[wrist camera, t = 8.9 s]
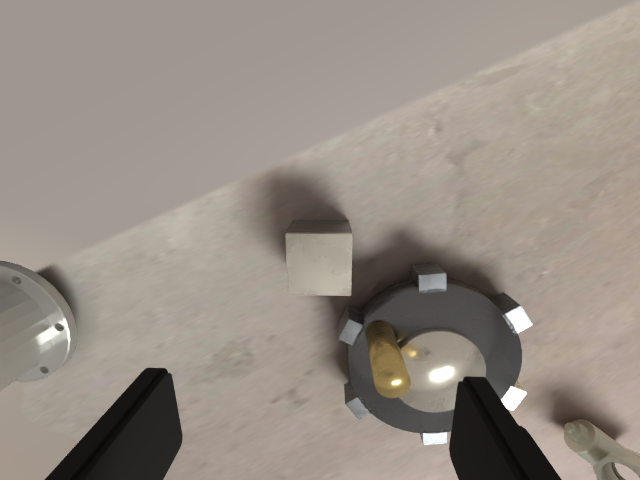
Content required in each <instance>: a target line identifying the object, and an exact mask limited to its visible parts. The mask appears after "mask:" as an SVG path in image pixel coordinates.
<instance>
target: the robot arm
mask: <svg viewBox="0 0 640 480" xmlns="http://www.w3.org/2000/svg"><path fill="white" fill-rule="evenodd" d="M76 343H77V328H76V323H75V319H74V316H73V314H72V312H71V309H70V307H69V306H68V304H67V302H66V301H65V299H64V298H63V296H62V295H61V294H60V293H59V292H58V291H57V290H56V288H55V287H54V286H52V285H51V284H50V283H49V282H48V281H47V280H45V279H44V278H43V277H41V276H40V275H38V274H36V273H35V272H33V271H31V270H29V269H27V268H24V267H22V266H20V265H17V264H13V263H10V262H5V261H0V391H1V390H3V389H4V388H6V387H7V386H8V385H10V384H11V383H13V382H14V381H19V382H28V381H36V380H40V379H44V378H46V377H48V376H50V375H52V374H54V373H55V372H56V371H57V370H59V369H60V368H61V367H63V366H64V365H65V364H66V363H67V362H68V361H69V359H70V358H71V356H72V354H73V353H74V351H75V347H76ZM181 443H182V430H181V425H180V419H179V413H178V408H177V402H176V396H175V390H174V385H173V379H172V375H171V374H170V373H168V371H167V370H166V369H165V368H146V369H145V370H144V371H143V372H142V373H141V374H140V375H139V376H138V377H137V378H136V379H135V381H134V382H133V383H132V384H131V385H130V386H129V387H128V388H127V389H126V391H125V392H124V393H123V394H122V395H121V396H120V397H119V398H118V399H117V400H116V402H115V403H114V404H113V405H112V406H111V407H110V408H109V409H108V410H107V412H106V413H105V414H104V415H103V416H102V417H101V418H100V419H99V420H98V422H97V423H96V424H95V425H94V426H93V427H92V428H91V429H90V430H89V431H88V433H87V434H86V435H85V436H84V437H83V438H82V439H81V440H80V441H79V443H78V444H77V445H76V446H75V447H74V448H73V449H72V450H71V451H70V452H69V454H68V455H67V456H66V457H65V458H64V459H63V460H62V461H61V462H60V464H59V465H58V466H57V467H56V468H55V469H54V470H53V471H52V473H50V475H49V476H48V477H47V478H46V479H45V480H163V479H164V477H165V475H166V473H167V471H168V469H169V468H170V466H171V464H172V462H173V460H174V458H175V456H176V455H177V453H178V451H179V449H180V446H181ZM449 451H450V457H451V460H452V463H453V466H454V468H455V471H456V474H457V476H458V479H459V480H561V478H560V477H559V476H558V474H557V473H556V471H555V470H554V468H553V467H552V465H551V464H550V463H549V461H548V460H547V458H546V457H545V455H544V454H543V453H542V451H541V450H540V448H539V447H538V445H537V444H536V443H535V441H534V440H533V438H532V437H531V435H530V434H529V433H528V432H527V430H526V429H525V428H523V427H522V426H518V424H517V423H516V421H515V420H514V418H513V417H512V415H511V414H510V412H509V411H508V409H507V408H506V407H505V405H504V404H503V402H502V401H501V399H500V398H499V396H498V395H497V393H496V392H495V390H494V389H493V387H492V386H491V384H490V383H489V381H488V380H487V379H486V378H485V377H472V376H466V377H464V378H463V381H459V382H458V385H457V393H456V400H455V408H454V415H453V423H452V430H451V437H450V445H449Z"/></svg>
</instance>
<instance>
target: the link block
mask: <svg viewBox="0 0 640 480" xmlns="http://www.w3.org/2000/svg"><path fill="white" fill-rule="evenodd" d="M352 237H353V234H352V230H351V227H350V223H349V221H303V220H293V222H292V224H291V225H290V227H289V229H288V230H287V232H286V234H285V238H286V264H287V291H288V295H318V296H351V278H352Z"/></svg>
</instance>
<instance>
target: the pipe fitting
mask: <svg viewBox="0 0 640 480" xmlns="http://www.w3.org/2000/svg"><path fill="white" fill-rule="evenodd" d="M564 429H565V433H564V439H565V442H566V444H567V446H568V447H569V448H570V449H571V450H573V451H574V452H575V453H577V454H578V455H579V456H581V457H582V458H583V459H585V460H586V461H587V462H589V463H590V464H591V465H593V469H594V472H595V474H596V477H597V479H598V480H625V479H624V478H622V477H621V476H620V474H619V473H618V472H617V470H616V467H615V462H616V463H620V464H623V465H625V466H627V467H629V468H630V469H632V470H633V471H634V472H635V473H636V474H637V475H638V476H639V477H640V454H638V453H636V452H634V451H631V450H629V449H626V448H624V447H623V446H621V445H620V444H619V443H617V442H616V441H615V440H613V439H612V438H611V437H609V436H608V435H606V434H605V433H604V432H602V431H601V430H600V429H598V428H597V427H596V426H594V425H593V424H591V423H590V422H589V421H586V420H582V419H579V420H575V421H572V422H570V423H569V422H568V423H566V424H565V425H564Z"/></svg>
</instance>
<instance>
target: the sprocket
mask: <svg viewBox="0 0 640 480" xmlns="http://www.w3.org/2000/svg"><path fill="white" fill-rule="evenodd" d="M532 325H533V324H532V323H531V321H530V320H529V318H528V316H527V315H526V313H525V312H524V310H523V309H522V307H521V305H519V304H518V303H517V302H515V301H514V300H513V299H512V298H510V297H509V296H508V295H507V294H505V293H504V292H503V293H502V294H500V295H498V296H496V297H495V298H493V299H491V300H489V299H488V298H487V297H486V296H485V295H484V294H482V293H481V292H479V291H478V290H477V289H475V288H473V287H471V286H469V285H467V284H465V283H462V282H460V281H457V280H453V279H448V278H446V272H445V271H444V270H443V269H442V268H441V267H440V266H439V265H438V264H437V263H426V264H415V265H411V280H407V281H403V282H400V283H398V284H395V285H393V286H391V287H389V288H387V289H385V290H383V291H382V292H380V293H379V294H378V295H376V296H375V297H374V298H373V299H371V300H370V301H369V302H368V303H367V304H366V305H365V306H364V308H363V309H362V310H361V311H360V310H357V309H355V308H353V307H350V306H348V305H347V307H346V309H345V311H344V313H343V315H342V317H341V319H340V321H339V323H338V340H340V341H343V342H345V343H348V363H349V374H350V379H351V381H349V382H347V383H346V384H344V389H345V404H346V405H347V407H348V408H349V409H350V410H351V411H352V412H353V414H354V415H355V416H356V417H357V418H358V419H361V418H363V417H364V416H366V415H368V414H370V413H372V414H373V415H374V416H375V417H377V418H378V419H380V420H381V421H383V422H385V423H386V424H389V425H391V426H393V427H395V428H398V429H401V430H405V431H410V432H415V433H420V435H421V439H422V442H423V445H428V444H447V432H450V431H451V430H452V423H453V415H454V408H455V400H456V393H457V385H458V382H459V381H463V378H464V377H466V376H472V377H485V378H486V379H487V380H488V381H489V383H490V384H491V386H492V387H493V389H494V390H495V392H496V393H497V395H498V396H499V398H500V399H501V401H502V402H503V404H504V405H505V407H506V408H508V409H510V410H514V409H515V408H516V407H517V405H518V404H519V403H520V401H521V400H522V399H523V398H524V396H525V395H526V394H527V392H526V391H525V390H524V389H523V387H522V386H521V385H520V384H519V382H518V381H517V379H518V376H519V373H520V369H521V363H522V349H521V343H520V339H519V336H518V334H517V333H519V332H521V331H523V330H524V329H526V328H528V327H530V326H532Z"/></svg>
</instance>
